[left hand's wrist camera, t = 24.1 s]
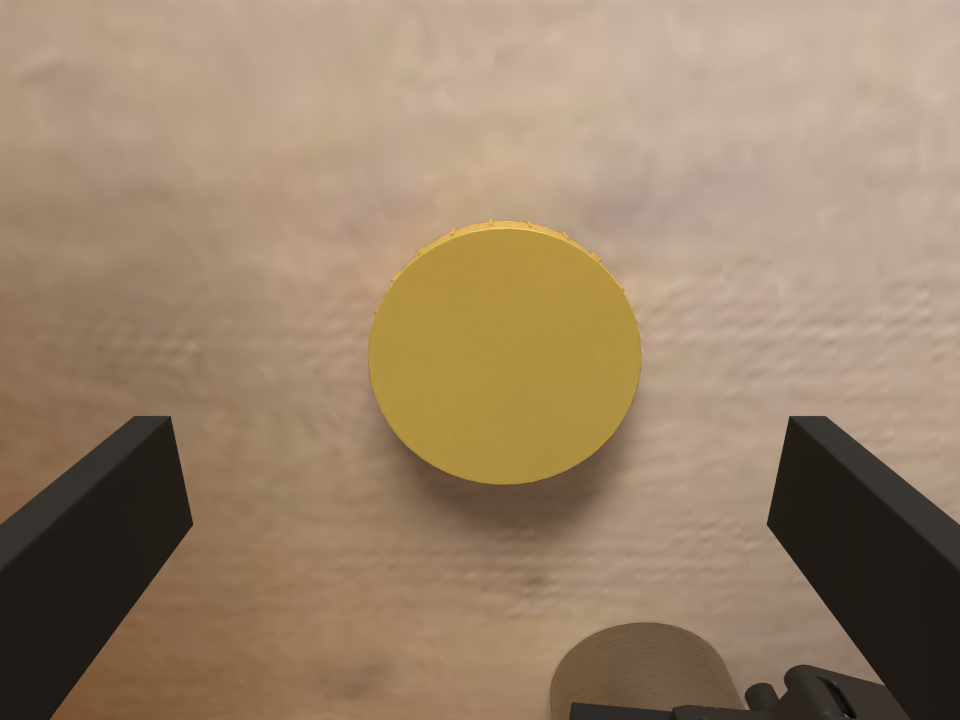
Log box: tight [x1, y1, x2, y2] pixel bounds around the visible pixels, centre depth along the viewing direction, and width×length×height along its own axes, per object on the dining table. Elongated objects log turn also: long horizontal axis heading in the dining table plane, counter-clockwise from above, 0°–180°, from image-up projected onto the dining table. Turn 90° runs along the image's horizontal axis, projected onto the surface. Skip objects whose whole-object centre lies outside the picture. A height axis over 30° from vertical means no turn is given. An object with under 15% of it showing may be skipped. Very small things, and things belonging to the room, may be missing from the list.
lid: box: [368, 219, 642, 485], centre depth 22 cm, size 10×10×2 cm
